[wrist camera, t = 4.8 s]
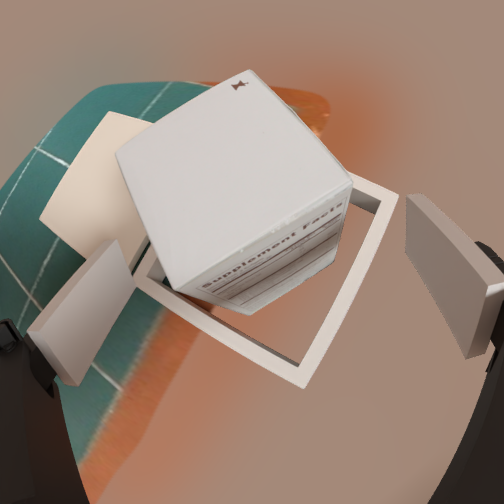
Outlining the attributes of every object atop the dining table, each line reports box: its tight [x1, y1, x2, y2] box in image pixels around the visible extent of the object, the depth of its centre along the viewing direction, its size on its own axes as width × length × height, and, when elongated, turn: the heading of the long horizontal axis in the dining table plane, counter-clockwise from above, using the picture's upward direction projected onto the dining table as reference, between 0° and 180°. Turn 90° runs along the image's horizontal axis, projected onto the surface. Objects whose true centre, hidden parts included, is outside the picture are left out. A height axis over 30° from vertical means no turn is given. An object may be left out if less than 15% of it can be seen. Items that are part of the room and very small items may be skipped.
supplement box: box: [115, 70, 353, 316], centre depth 17 cm, size 7×7×13 cm
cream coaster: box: [39, 111, 154, 272], centre depth 27 cm, size 14×14×1 cm
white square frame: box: [133, 171, 399, 389], centre depth 22 cm, size 14×14×2 cm
